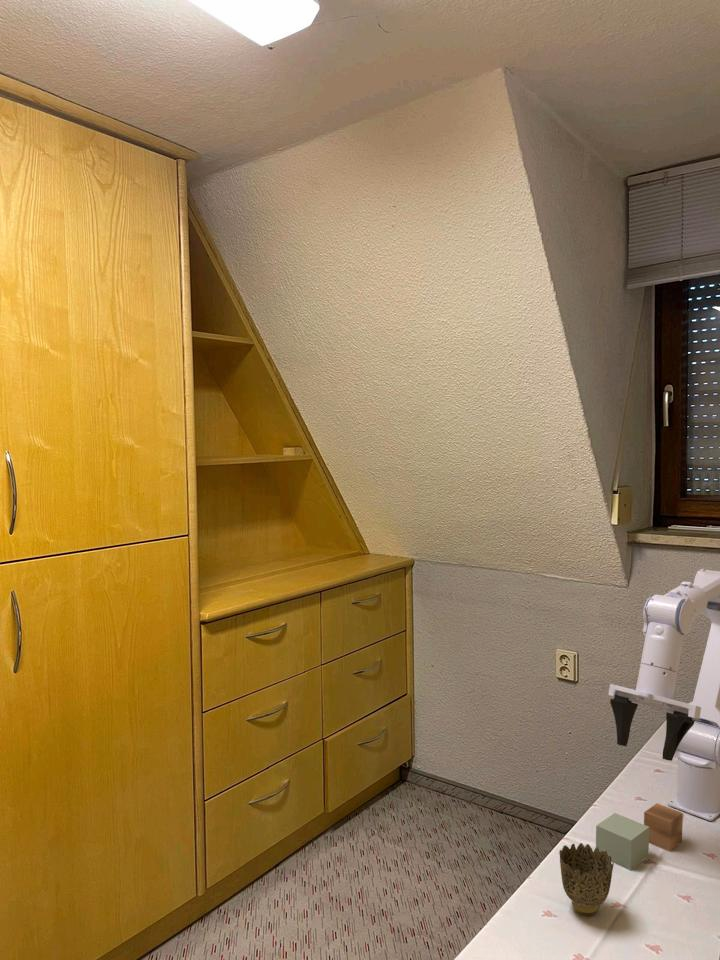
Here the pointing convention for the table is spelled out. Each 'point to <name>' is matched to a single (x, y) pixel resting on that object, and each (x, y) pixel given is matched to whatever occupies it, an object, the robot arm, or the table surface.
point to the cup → (586, 877)
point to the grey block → (623, 840)
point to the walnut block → (664, 826)
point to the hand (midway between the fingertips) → (643, 752)
